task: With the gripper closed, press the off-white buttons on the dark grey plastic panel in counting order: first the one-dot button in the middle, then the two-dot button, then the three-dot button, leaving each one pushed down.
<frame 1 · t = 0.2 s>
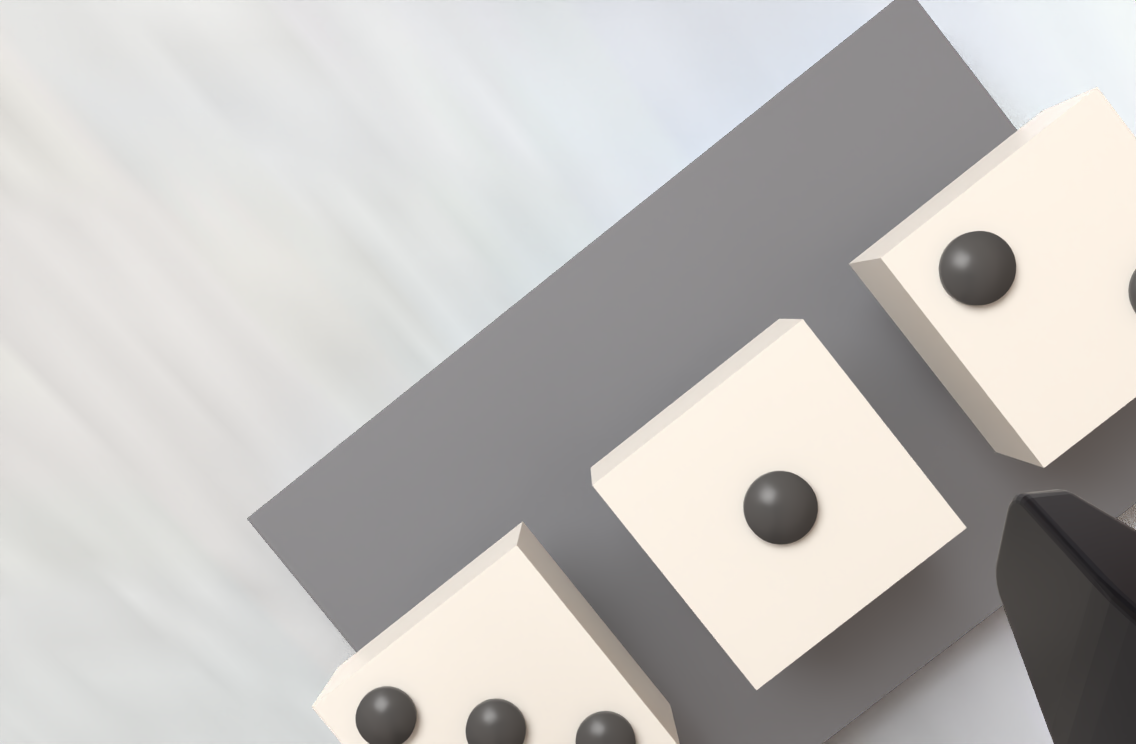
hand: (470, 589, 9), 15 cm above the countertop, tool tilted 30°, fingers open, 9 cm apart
button panel: (727, 457, 23), on the countertop
three-dot button: (500, 707, 19), point 5 cm above the countertop, slide at 0.0 cm
one-dot button: (769, 496, 18), point 5 cm above the countertop, slide at 0.0 cm
two-dot button: (1045, 281, 18), point 5 cm above the countertop, slide at 0.0 cm
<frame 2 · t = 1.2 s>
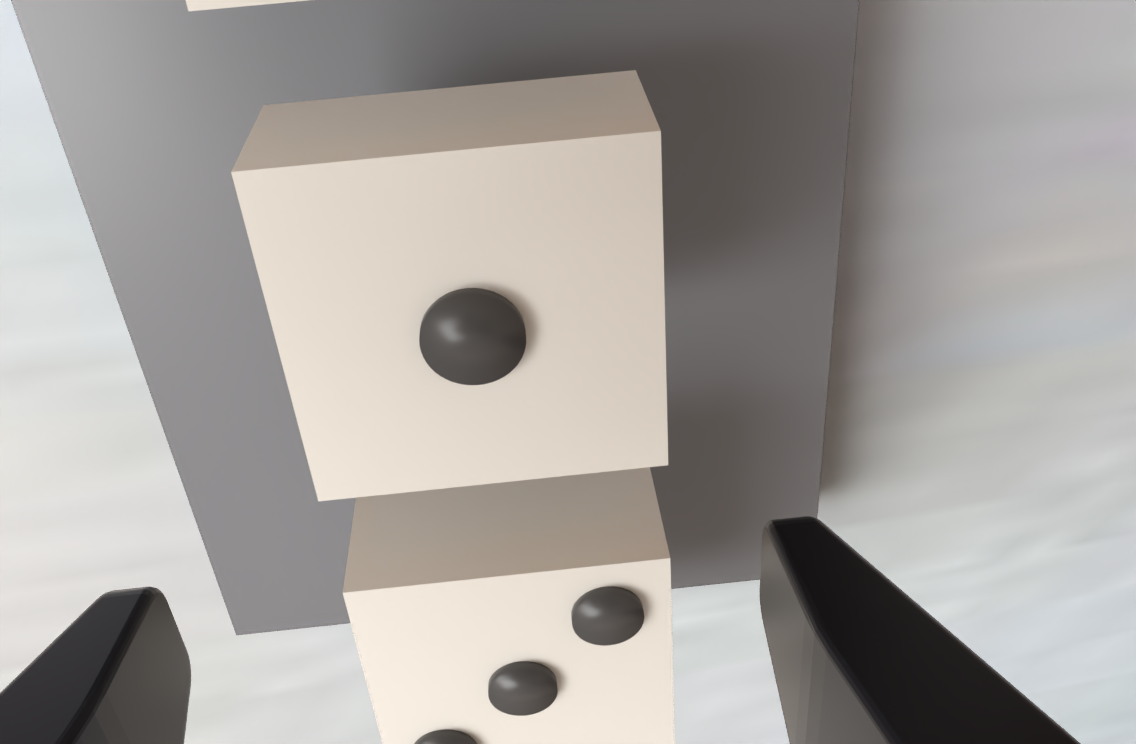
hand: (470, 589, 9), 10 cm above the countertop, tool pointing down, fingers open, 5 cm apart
button panel: (472, 140, 17), on the countertop
three-dot button: (520, 636, 16), point 5 cm above the countertop, slide at 0.0 cm
one-dot button: (472, 294, 13), point 5 cm above the countertop, slide at 0.0 cm
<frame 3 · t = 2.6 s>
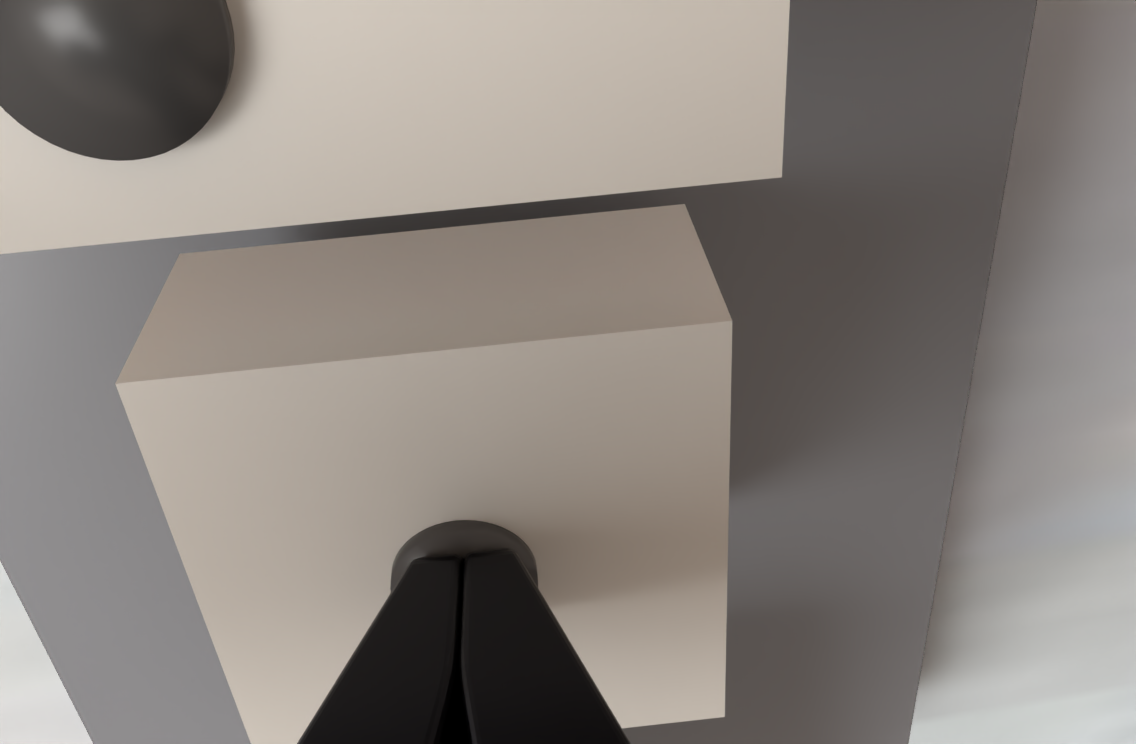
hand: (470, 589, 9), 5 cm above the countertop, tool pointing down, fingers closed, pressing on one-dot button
button panel: (465, 290, 13), on the countertop
one-dot button: (465, 501, 9), point 4 cm above the countertop, slide at 1.2 cm, touching gripper
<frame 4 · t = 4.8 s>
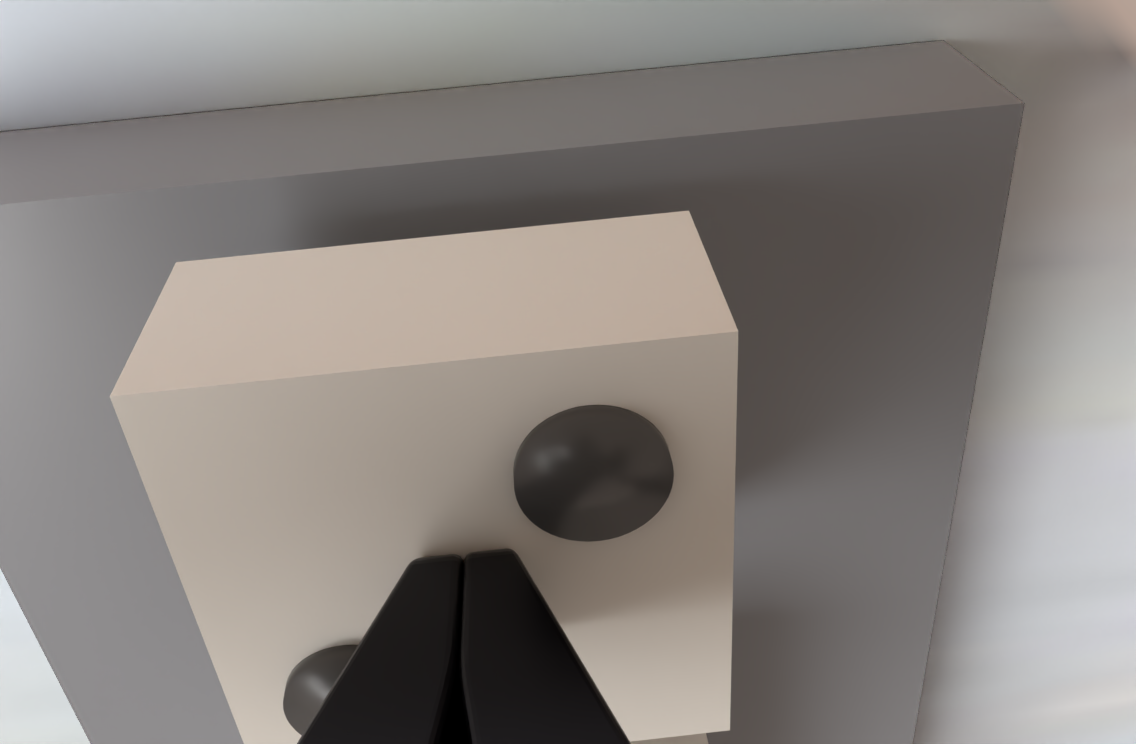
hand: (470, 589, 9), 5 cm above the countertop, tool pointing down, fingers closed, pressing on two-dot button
button panel: (516, 635, 16), on the countertop
two-dot button: (466, 512, 9), point 4 cm above the countertop, slide at 1.1 cm, touching gripper
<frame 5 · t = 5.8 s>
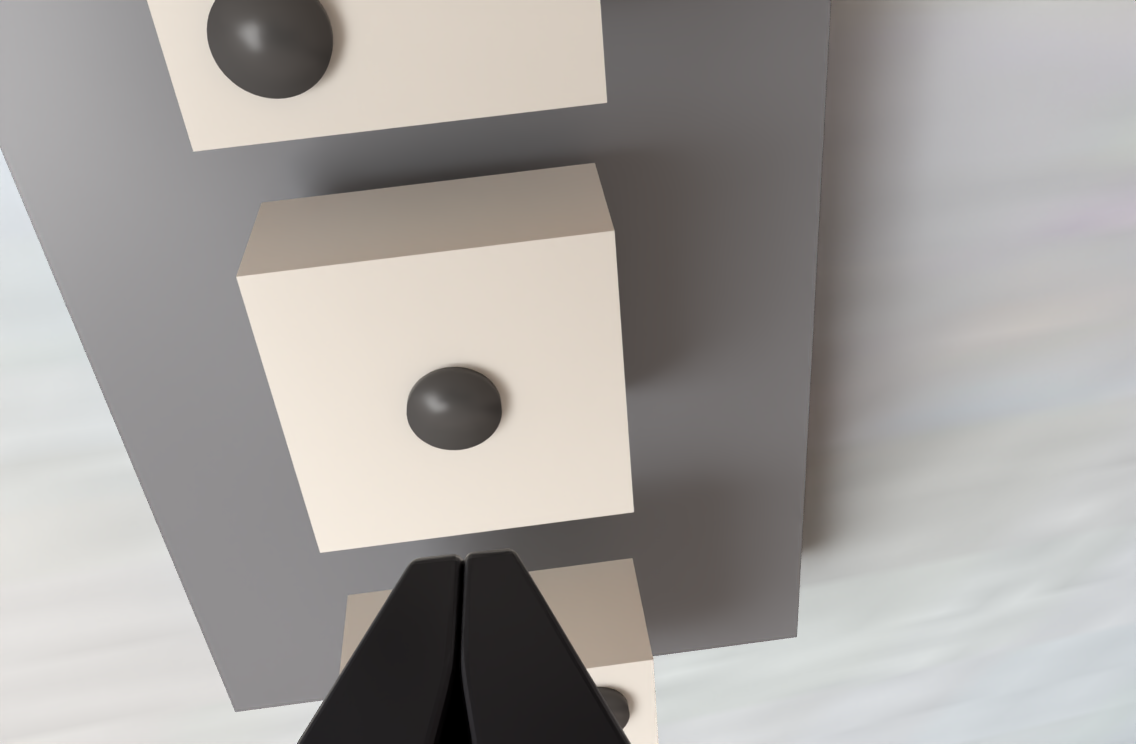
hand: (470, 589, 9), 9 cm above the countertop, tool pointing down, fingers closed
button panel: (453, 237, 17), on the countertop
three-dot button: (510, 725, 17), point 5 cm above the countertop, slide at 0.0 cm
one-dot button: (454, 365, 14), point 4 cm above the countertop, slide at 1.3 cm
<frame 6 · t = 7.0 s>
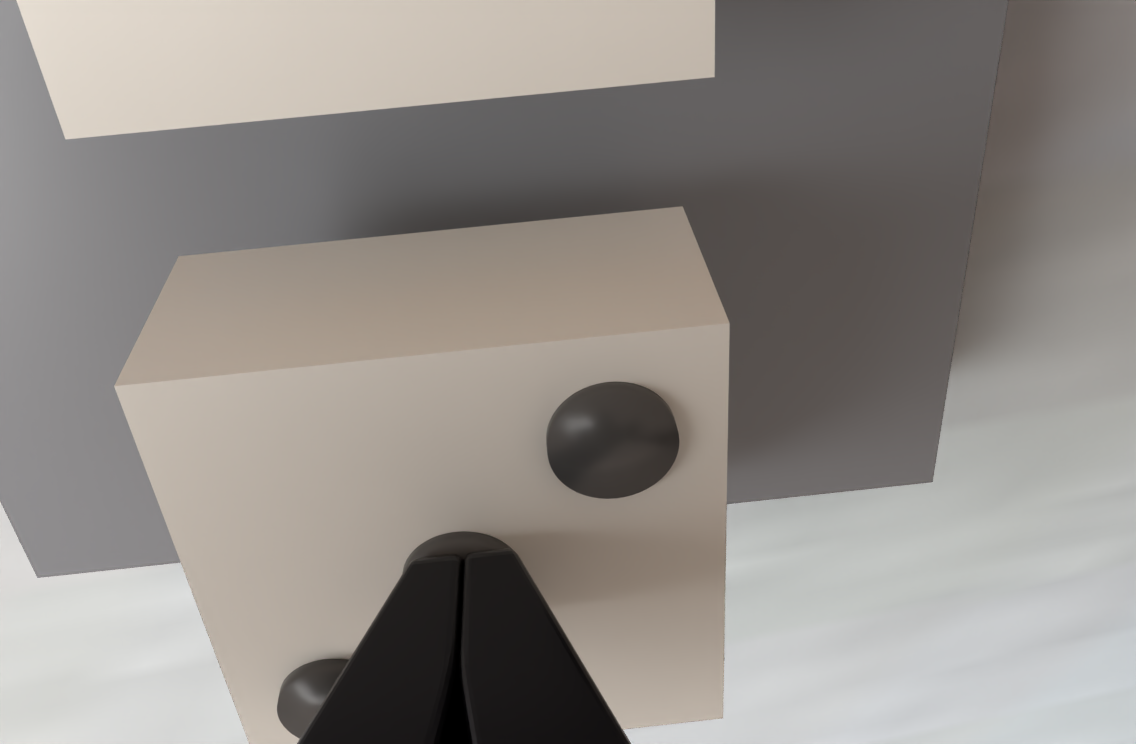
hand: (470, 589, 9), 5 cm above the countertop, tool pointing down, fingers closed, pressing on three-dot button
three-dot button: (463, 503, 10), point 4 cm above the countertop, slide at 0.7 cm, touching gripper
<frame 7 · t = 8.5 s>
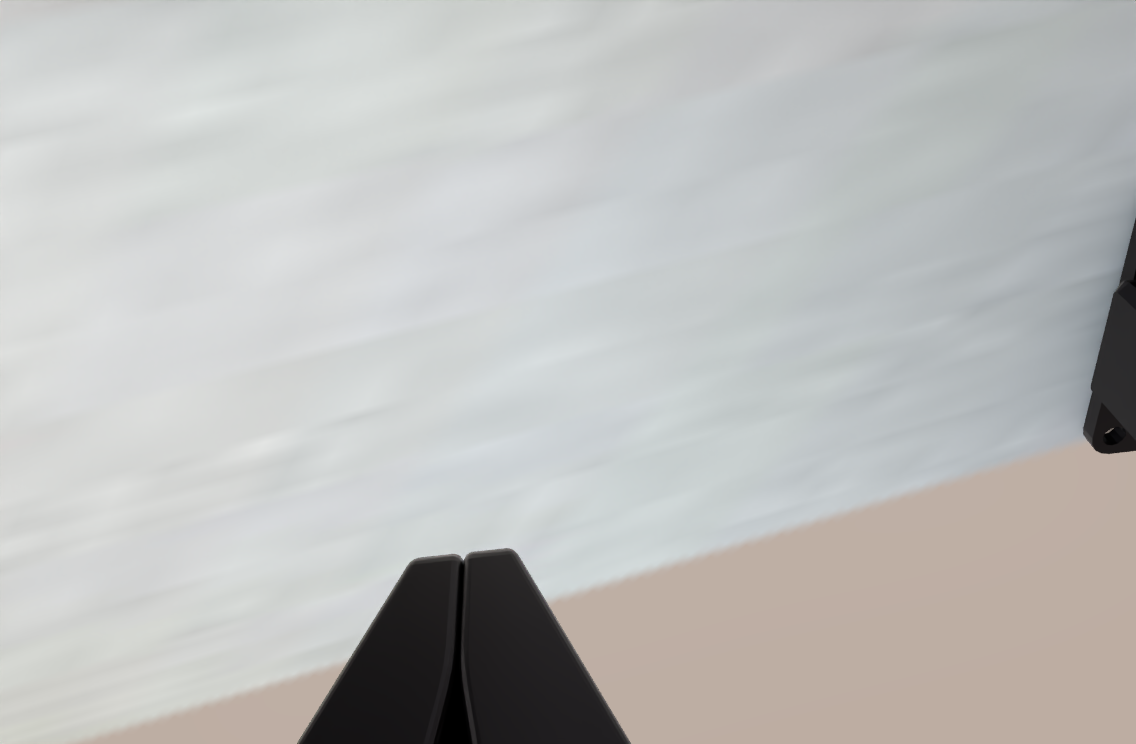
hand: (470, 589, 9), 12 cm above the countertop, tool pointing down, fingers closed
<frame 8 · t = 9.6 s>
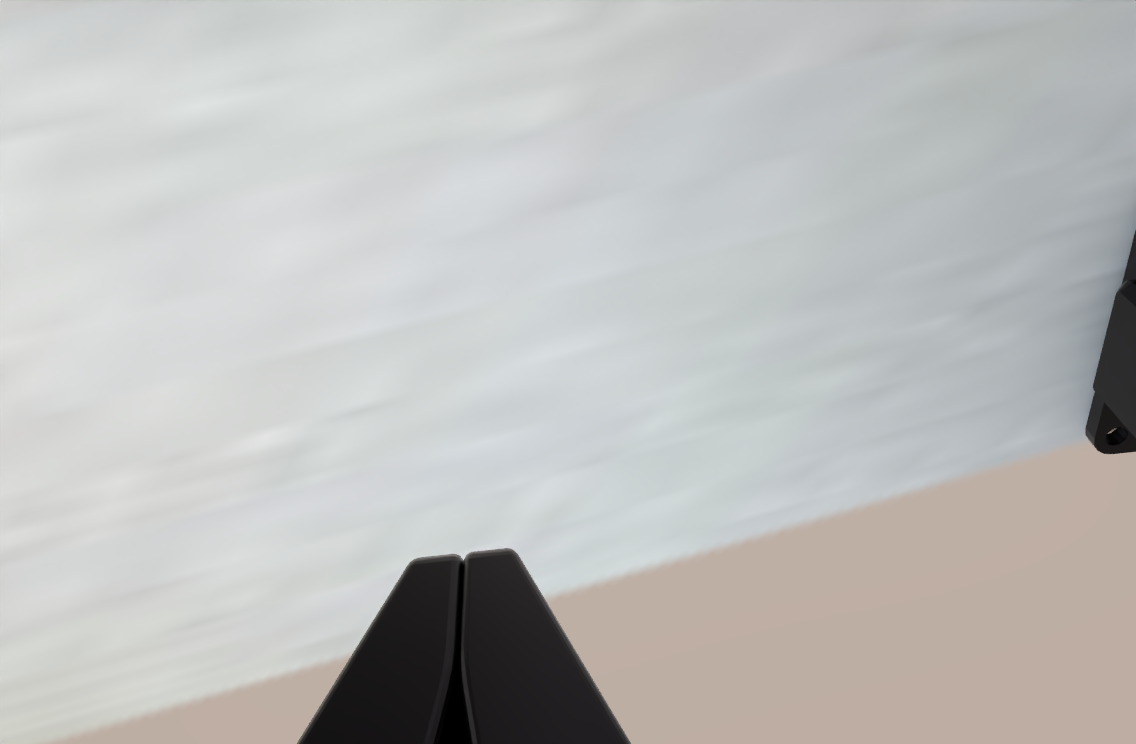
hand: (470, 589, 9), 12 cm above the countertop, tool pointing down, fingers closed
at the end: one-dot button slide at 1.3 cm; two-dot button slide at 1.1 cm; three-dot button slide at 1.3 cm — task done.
